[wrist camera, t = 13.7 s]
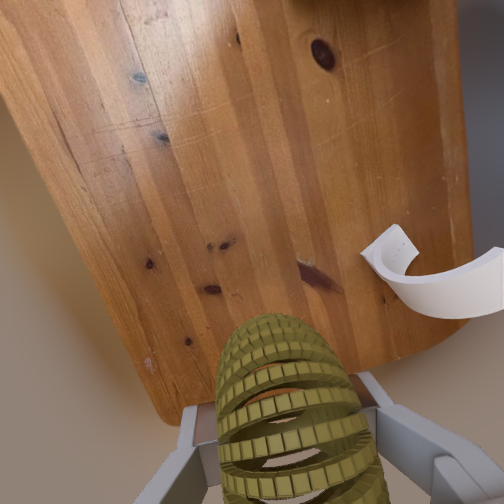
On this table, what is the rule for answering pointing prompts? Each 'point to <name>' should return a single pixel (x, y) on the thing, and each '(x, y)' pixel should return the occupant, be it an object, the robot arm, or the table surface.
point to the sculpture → (294, 431)
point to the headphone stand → (439, 279)
